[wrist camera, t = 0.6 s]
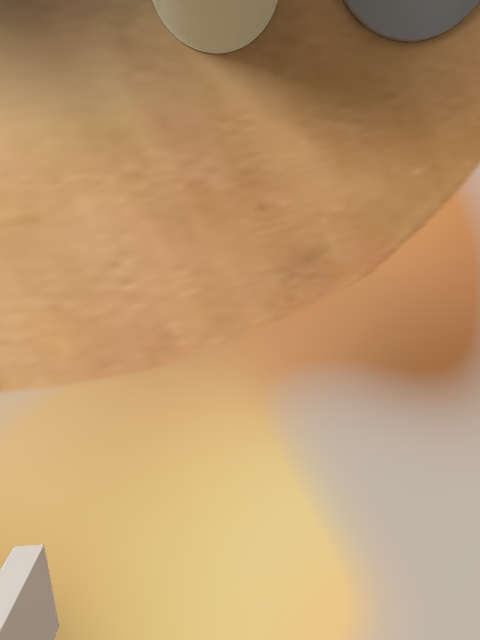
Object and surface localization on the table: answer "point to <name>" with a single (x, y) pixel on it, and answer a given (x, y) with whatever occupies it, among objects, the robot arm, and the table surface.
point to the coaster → (410, 17)
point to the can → (215, 22)
